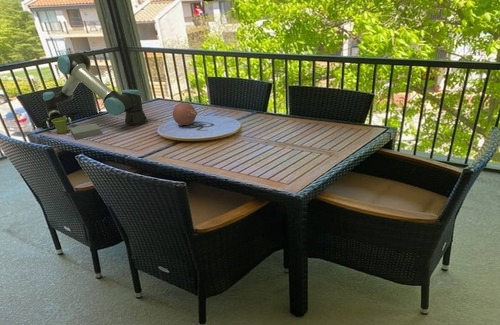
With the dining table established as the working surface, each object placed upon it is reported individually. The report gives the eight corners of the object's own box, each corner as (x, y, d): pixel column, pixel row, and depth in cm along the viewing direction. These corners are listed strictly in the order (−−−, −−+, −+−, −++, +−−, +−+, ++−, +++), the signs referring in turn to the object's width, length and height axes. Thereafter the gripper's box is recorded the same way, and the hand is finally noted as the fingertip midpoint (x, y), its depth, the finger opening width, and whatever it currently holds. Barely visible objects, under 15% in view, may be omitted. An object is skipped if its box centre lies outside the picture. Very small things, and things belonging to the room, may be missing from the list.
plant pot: (64, 134, 230) (60, 121, 226) (51, 134, 232) (48, 121, 228) (73, 129, 238) (70, 117, 235) (61, 129, 240) (58, 117, 237)
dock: (96, 128, 238) (95, 123, 236) (101, 134, 227) (100, 128, 226) (71, 134, 230) (69, 128, 229) (75, 139, 220) (73, 133, 218)
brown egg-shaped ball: (187, 131, 225) (185, 108, 218) (169, 126, 237) (166, 103, 231) (206, 125, 235) (204, 103, 228) (187, 120, 247) (185, 98, 241)
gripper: (75, 118, 257) (81, 125, 241) (37, 125, 245) (40, 133, 228) (73, 108, 254) (78, 114, 238) (34, 114, 242) (36, 122, 225)
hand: (59, 123), depth 233 cm, fingers open, 13 cm apart
